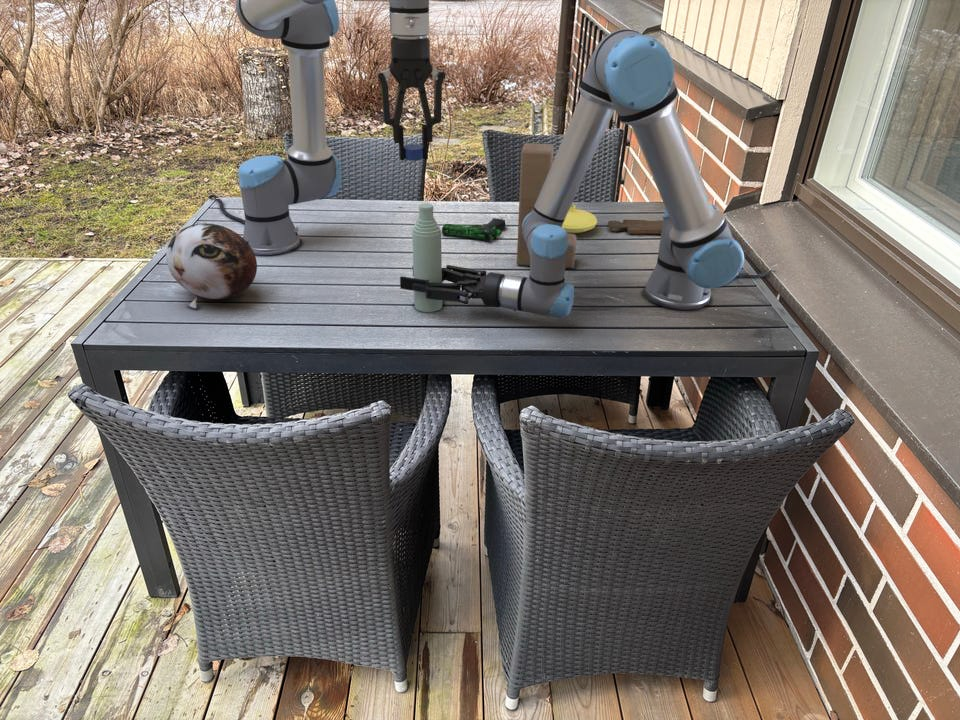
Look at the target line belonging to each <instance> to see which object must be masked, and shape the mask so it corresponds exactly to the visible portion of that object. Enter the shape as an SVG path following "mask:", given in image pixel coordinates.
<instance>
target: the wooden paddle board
mask: <svg viewBox="0 0 960 720" xmlns="http://www.w3.org/2000/svg"><path fill="white" fill-rule="evenodd" d="M607 224H608V229H609V231H610V232H613V233H615V232H616V233H617V232H623V231H627V234H629V235H641V234H655V235H656V234H657V235H659V234H660V235H661V232H662V225H663V219H660V220H657V219H656V220H649V219H648V220H647V219H623V220H622V222H621V221H619V220H615V219H614V220H608V221H607Z"/></svg>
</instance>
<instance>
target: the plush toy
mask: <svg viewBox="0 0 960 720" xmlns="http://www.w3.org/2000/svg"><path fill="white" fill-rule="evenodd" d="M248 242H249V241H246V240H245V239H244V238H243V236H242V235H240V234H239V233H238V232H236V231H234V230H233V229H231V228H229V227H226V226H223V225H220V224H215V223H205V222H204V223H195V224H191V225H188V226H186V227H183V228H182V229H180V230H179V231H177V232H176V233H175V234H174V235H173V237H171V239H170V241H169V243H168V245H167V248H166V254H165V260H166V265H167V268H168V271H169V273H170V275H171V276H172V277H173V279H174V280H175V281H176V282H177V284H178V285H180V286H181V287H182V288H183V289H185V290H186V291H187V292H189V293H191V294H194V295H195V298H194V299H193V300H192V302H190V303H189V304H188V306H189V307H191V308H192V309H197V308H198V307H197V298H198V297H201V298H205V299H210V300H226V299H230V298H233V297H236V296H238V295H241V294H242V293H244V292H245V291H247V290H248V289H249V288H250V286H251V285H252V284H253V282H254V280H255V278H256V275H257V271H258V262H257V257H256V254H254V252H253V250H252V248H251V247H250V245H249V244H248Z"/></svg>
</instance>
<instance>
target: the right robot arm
mask: <svg viewBox="0 0 960 720" xmlns="http://www.w3.org/2000/svg"><path fill="white" fill-rule="evenodd" d="M674 79H675V65H674V62H673V59H672V56H671V55H670V52H669V51H668V49H667V48H666V47H665V46H664V44H662V43H661V42H660V41H658V40H657V38H654V37H651V36H650V35H644V33H643V34H642V33H640V32H639V31H637V30H635V29H630V28H622V29H617V30H614V31H612V32H610V33H608V34H607V35H606V36H605V37H603V38H602V39H601V40H600V41H599V42H598V44H597V45H596V46H595V48H594V51H593V53H592V55H591V58H590V59H589V61H588V65H587V66H586V69H585V73H584V75H583V77H582V79H581V82H580V84H579V87H578V90H579V92H580V97H579V100H578V102H577V104H576V106H575V110H574V111H573V113H572V116H571V118H570V121H569V123H568V125H567V128H566V130H565V133H564V135H563V137H562V139H561V142H560V143H559V147H558V149H557V151H556V154H555V156H554V157H553V163H552V165H551V168H550V170H549V172H548V175H547V177H546V179H545V182H544V184H543V186H542V189H541V191H540V193H539V196H538V198H537V201H536V203H535V205H534V208H533V210H532V212H531V213H529V214H528V215H527V216H526V217H525V218H524V220H523V223H522V235H523V237H524V240H525V242H526V245H527V248H528V251H529V254H530V266H529V277H526V276H522V275H521V276H520V275H513V274H507V275H505V274H504V273H499V272H492V271H491V272H488V273H487V270H484V269H483V270H482V269H481V270H480V269H472V268H467V267H463V266H457V265H451V264H447V265H446V266H445V267H442V283H429V280H422V279H415V278H414V272H413V271H412V277H408V276H400V277H399V284H400V285H399V286H400V289H402V290H406V291H407V290H408V291H413V292H414V291H419V292H425V293H426V298H427V299H435V300H442V302H451V303H459V304H461V305H468V304H469V302H470V301H469V300H471V299H472V300H478V299H479V300H481V302H482V304H483V305H484V306H486V307H492V308H497V309H498V308H500V307H501V308H502V309H506V310H511V311H513V312H517V311H518V312H523V313H528V314H529V313H530V314H534V315H541V316H546V317H554V318H566V317H568V316H569V315H570V313H571V312H572V308H573V305H574V299H575V287H574V285H573V284H572V283H568V282H566V277H565V276H566V268H565V266H566V255H567V249H568V243H567V238H568V234H567V231H566V230H565V229H564V228H561V227H562V225H563V222H564V220H565V218H566V215H567V213H568V211H569V209H570V207H571V204H572V205H573V202H574V200H575V198H576V195H577V193H578V191H579V189H580V187H581V185H582V182H583V180H584V178H585V176H586V174H587V172H588V169H589V167H590V165H591V163H592V161H593V158H594V156H595V154H596V152H597V150H598V147H599V145H600V143H601V141H602V138H603V137H604V134H605V133H606V130H607V128H608V126H609V123H610V121H611V119H612V117H613V115H614V112H616V114H617V117H618V119H619V122H620V123H621V124H623V125H627V126H630V127H631V129H632V131H633V133H634V136H635V139H636V141H637V144H638V146H639V149H640V150H641V153H642V155H643V158H644V160H645V162H646V164H647V167H648V169H649V171H650V175H651V177H652V179H653V181H654V184H655V186H656V188H657V191H658V194H659V196H660V198H661V200H662V203H663V206H664V208H665V209H664V214H663V216H662V220H663V225H662V232H661V234H660V240H659V245H658V252H657V261H656V265H655V266H654V268H653V270H652V272H651V274H650V275H649V278H648V279H647V282H646V284H645V287H644V295H645V297H646V298H647V300H649V301H650V302H652V303H654V304H655V305H658V306H659V307H663V308H667V309H672V310H678V311H693V310H698V309H701V308H705V307H706V306H707V305H708V304H709V303H710V299H711V295H712V293H711V289H718V288H721V287H724V286H725V285H727V284H729V283H730V282H732V281H733V280H735V278H763V277H766V276H767V275H768V274H769V273H768V272H767V271H766V270H764V271H763V272H759V273H756V274H757V275H749V273H750V272H741V270H742V268H743V267H744V264H745V263H744V262H745V253H744V250H743V247H742V246H741V244H740V243H739V241H737V240H735V238H734V237H733V234H732V232H731V229H730V227H729V224H728V221H727V217H726V216H725V214H724V212H723V211H722V210H720V209H719V208H718V206H717V205H716V204H713V203H712V201H711V199H710V196H709V193H708V190H707V188H706V186H705V183H704V180H703V178H702V175H701V173H700V170H699V167H698V165H697V162H696V160H695V156H694V154H693V151H692V149H691V146H690V144H689V141H688V138H687V136H686V133H685V130H684V127H683V125H682V123H681V120H680V118H679V117H680V116H679V115H678V112H677V109H676V107H675V104H676V101H677V100H678V98H679V96H680V95H679V91H678V88H677V84H676V82H675V80H674ZM444 281H448V282H444Z"/></svg>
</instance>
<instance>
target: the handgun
mask: <svg viewBox="0 0 960 720" xmlns="http://www.w3.org/2000/svg"><path fill="white" fill-rule="evenodd" d="M505 228H506V220H505V219H503V218H497V217H492V219H491V220H490V221H489V222H488V223H483V224H482V225H479V224H472V225H459V224H453V223H445V224H443V226H442V227H441V235H446V236H454V237H462V238H469V239H470V238H471V239H474V240H479V241H484V242H491V241H492V240H494V239H495V238H497V237H500V236H502V230H504V229H505Z"/></svg>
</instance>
